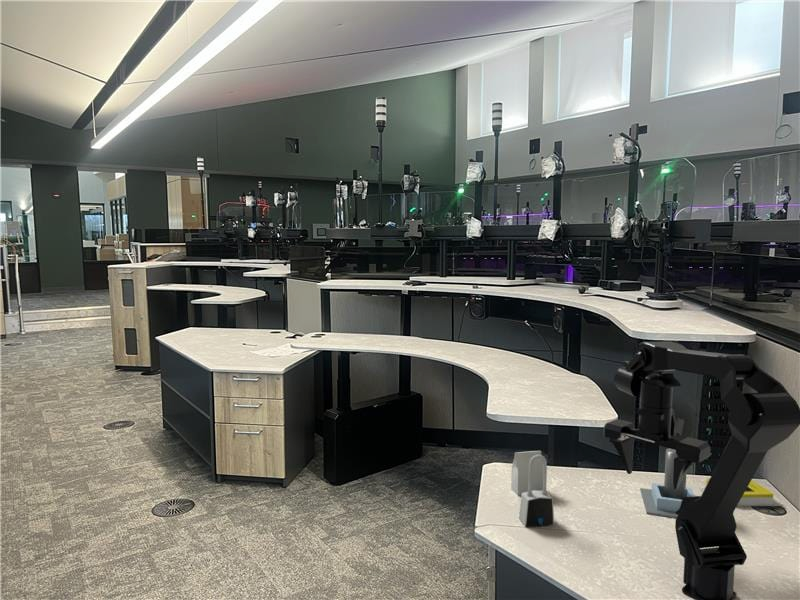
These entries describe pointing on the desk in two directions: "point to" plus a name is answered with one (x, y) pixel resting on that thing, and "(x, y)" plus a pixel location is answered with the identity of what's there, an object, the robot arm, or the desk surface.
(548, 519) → the padlock
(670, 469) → the plug
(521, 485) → the grey chamfered block
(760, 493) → the emergency button
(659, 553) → the desk surface
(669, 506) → the dock
